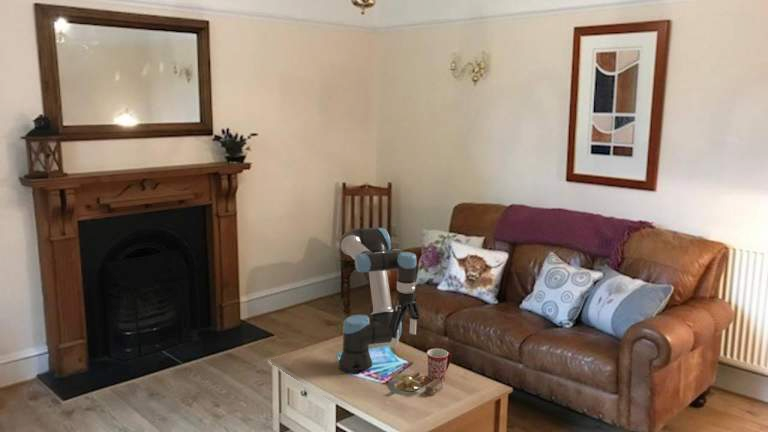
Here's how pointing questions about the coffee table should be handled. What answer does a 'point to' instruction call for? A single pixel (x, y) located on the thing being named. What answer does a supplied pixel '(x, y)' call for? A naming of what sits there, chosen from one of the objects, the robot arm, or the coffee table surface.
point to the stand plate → (400, 391)
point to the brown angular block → (433, 387)
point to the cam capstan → (408, 381)
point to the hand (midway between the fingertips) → (404, 339)
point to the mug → (438, 364)
